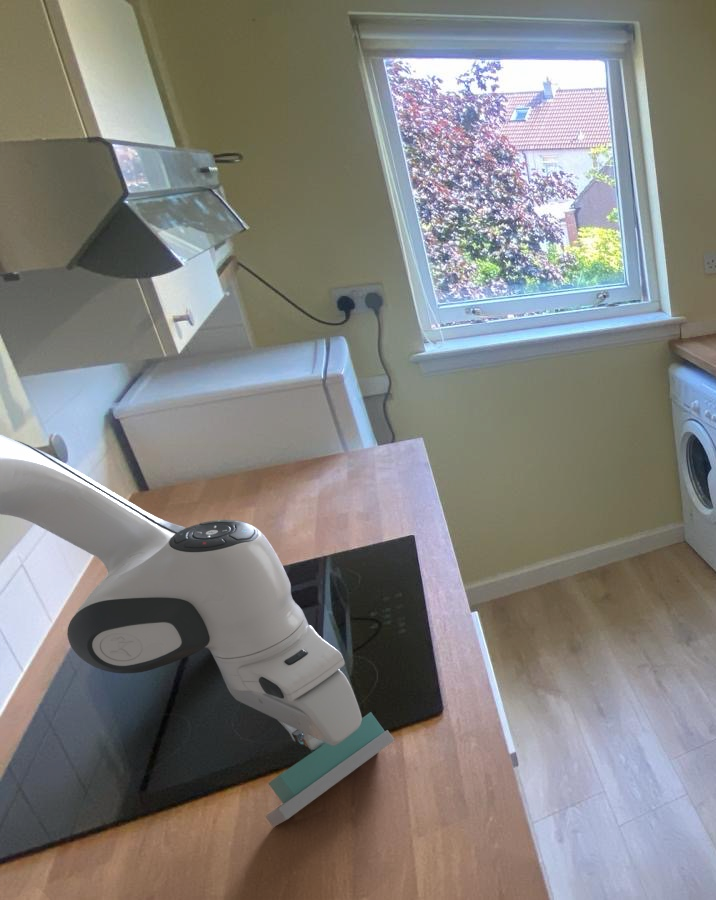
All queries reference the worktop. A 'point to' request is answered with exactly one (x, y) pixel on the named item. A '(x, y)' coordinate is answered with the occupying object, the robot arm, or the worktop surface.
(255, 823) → the worktop surface
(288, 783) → the whetstone
